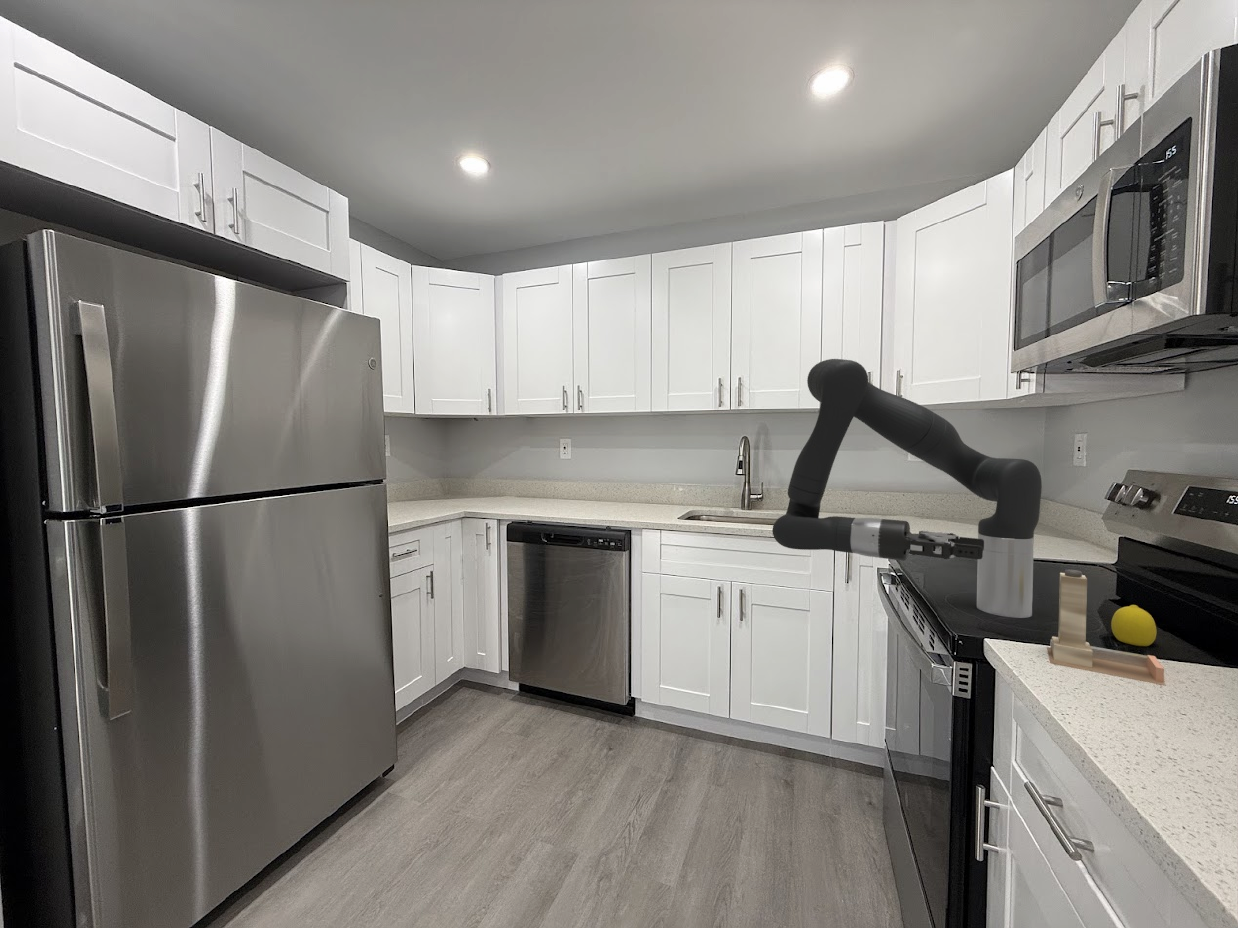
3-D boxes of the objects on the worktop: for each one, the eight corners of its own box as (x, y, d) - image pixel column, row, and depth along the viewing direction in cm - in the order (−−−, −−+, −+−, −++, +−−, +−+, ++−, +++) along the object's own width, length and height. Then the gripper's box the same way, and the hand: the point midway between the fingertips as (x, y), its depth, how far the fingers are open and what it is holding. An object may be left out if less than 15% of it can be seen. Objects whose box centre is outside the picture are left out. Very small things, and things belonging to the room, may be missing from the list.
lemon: (1140, 645, 90) (1142, 601, 90) (1164, 658, 85) (1166, 611, 85) (1103, 642, 92) (1104, 599, 92) (1124, 654, 86) (1125, 608, 86)
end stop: (1147, 667, 78) (1147, 654, 78) (1154, 669, 77) (1154, 656, 77) (1155, 680, 74) (1156, 667, 74) (1163, 682, 73) (1164, 668, 73)
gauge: (1051, 651, 84) (1053, 566, 84) (1088, 657, 82) (1090, 570, 81) (1053, 660, 81) (1056, 571, 80) (1092, 667, 78) (1094, 575, 78)
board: (1046, 655, 86) (1046, 646, 86) (1151, 675, 79) (1152, 665, 79) (1050, 672, 80) (1050, 663, 80) (1165, 695, 72) (1165, 685, 72)
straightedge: (1050, 647, 86) (1050, 639, 86) (1147, 665, 79) (1148, 655, 79) (1051, 650, 85) (1051, 641, 85) (1149, 668, 78) (1150, 658, 78)
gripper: (873, 522, 92) (983, 532, 82) (886, 515, 103) (984, 523, 93) (872, 563, 92) (981, 578, 82) (885, 551, 103) (983, 563, 93)
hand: (983, 549), depth 88 cm, fingers open, 8 cm apart
